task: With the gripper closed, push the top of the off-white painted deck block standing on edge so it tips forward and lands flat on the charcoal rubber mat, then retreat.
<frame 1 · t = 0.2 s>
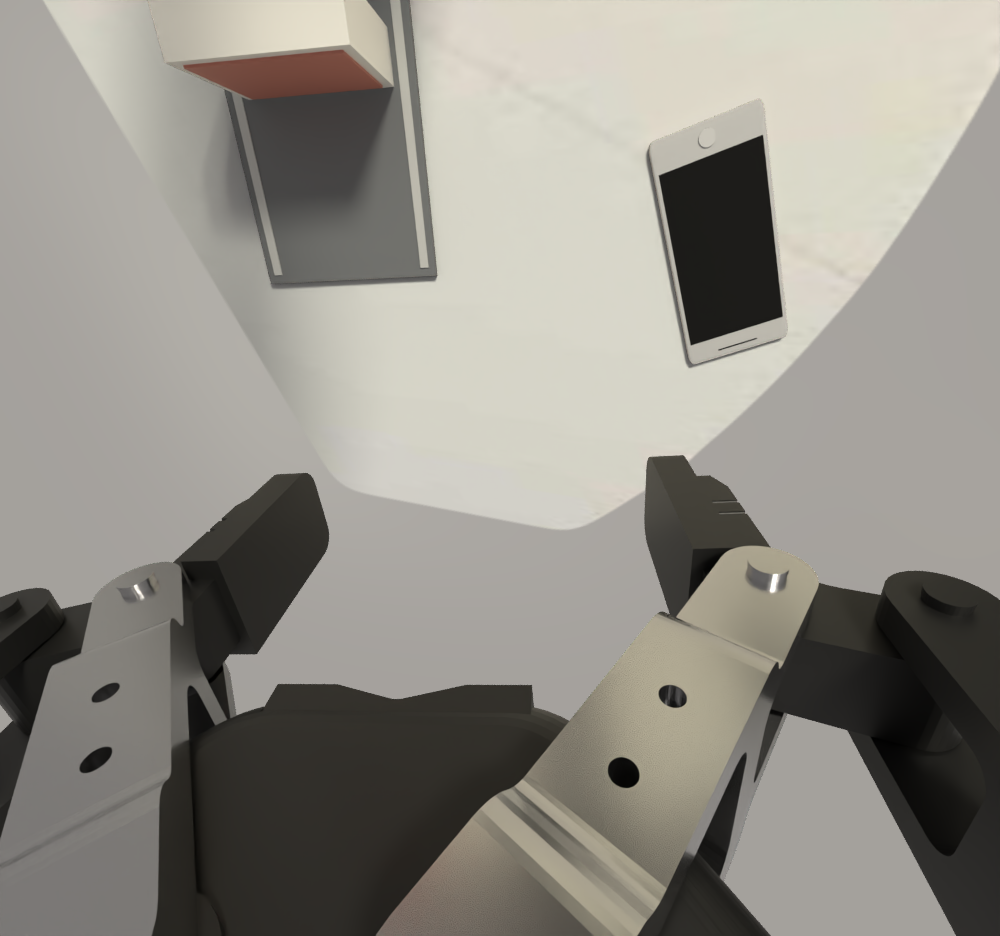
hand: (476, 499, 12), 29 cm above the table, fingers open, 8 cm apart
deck: (285, 43, 28), point 4 cm above the table, touching mat
mat: (327, 122, 33), on the table
smartphone: (718, 245, 35), on the table
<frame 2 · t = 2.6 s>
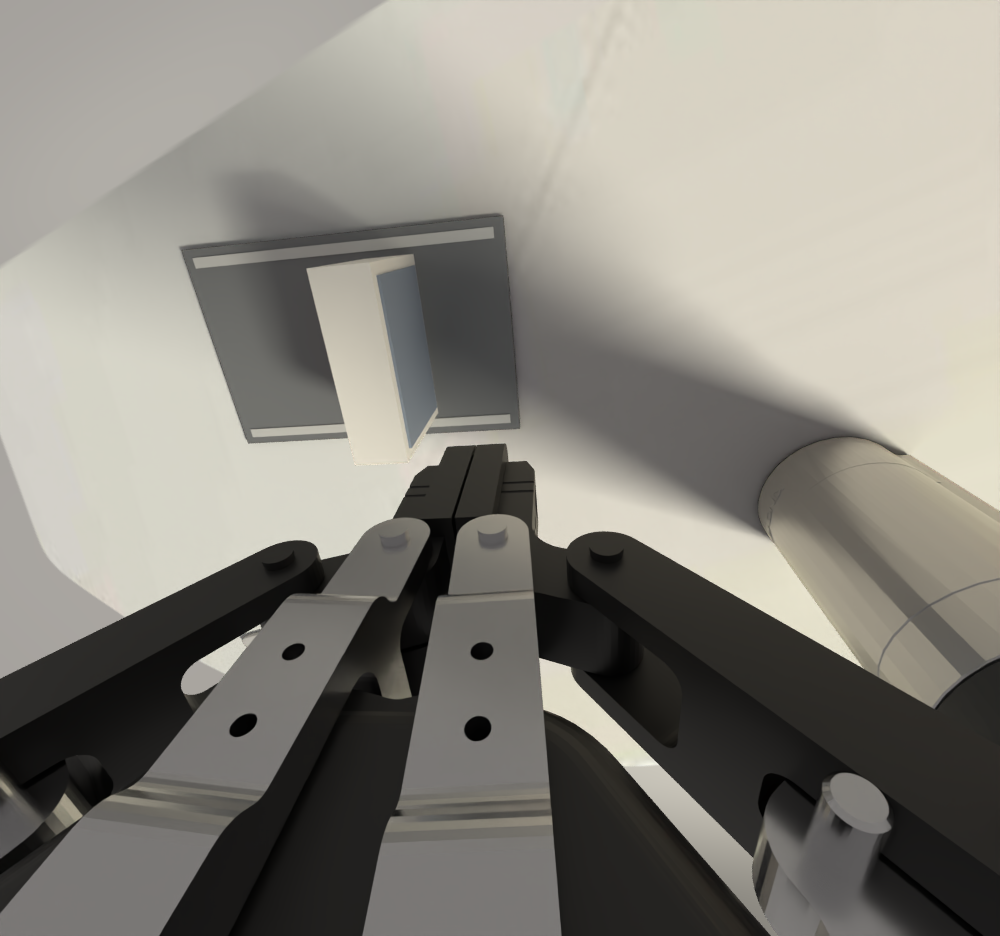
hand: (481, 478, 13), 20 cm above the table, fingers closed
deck: (385, 355, 28), point 4 cm above the table, touching mat
mat: (361, 342, 32), on the table
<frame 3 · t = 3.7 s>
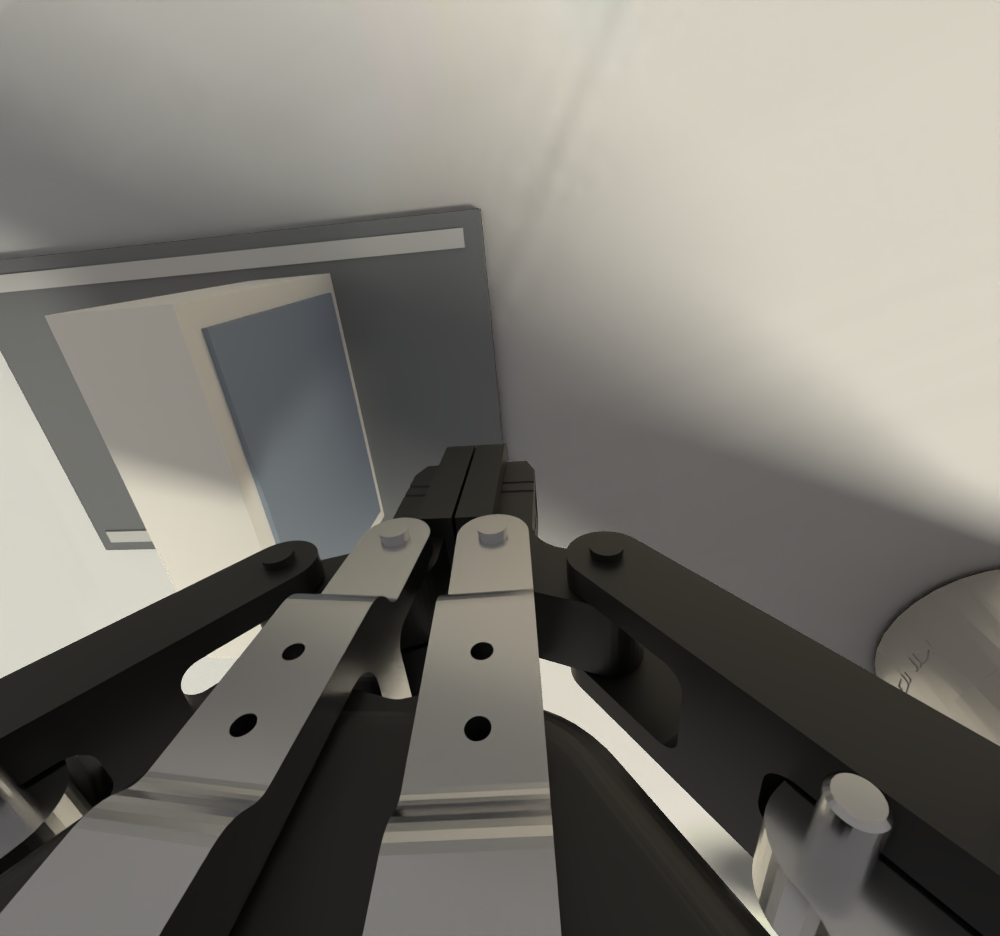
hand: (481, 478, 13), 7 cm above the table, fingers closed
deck: (273, 450, 16), point 4 cm above the table, touching mat
mat: (260, 410, 20), on the table
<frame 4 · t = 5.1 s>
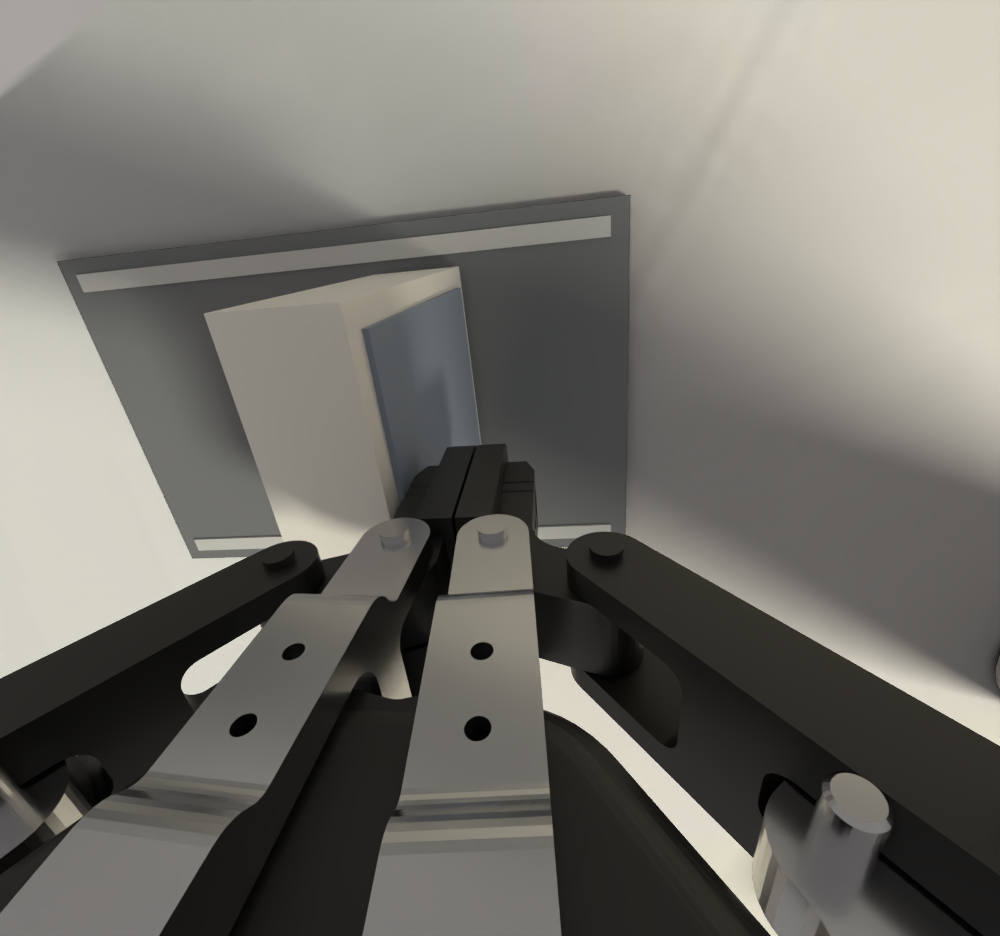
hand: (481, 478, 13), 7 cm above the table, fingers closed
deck: (398, 456, 15), point 5 cm above the table, tilted 7°, touching mat
mat: (368, 411, 19), on the table
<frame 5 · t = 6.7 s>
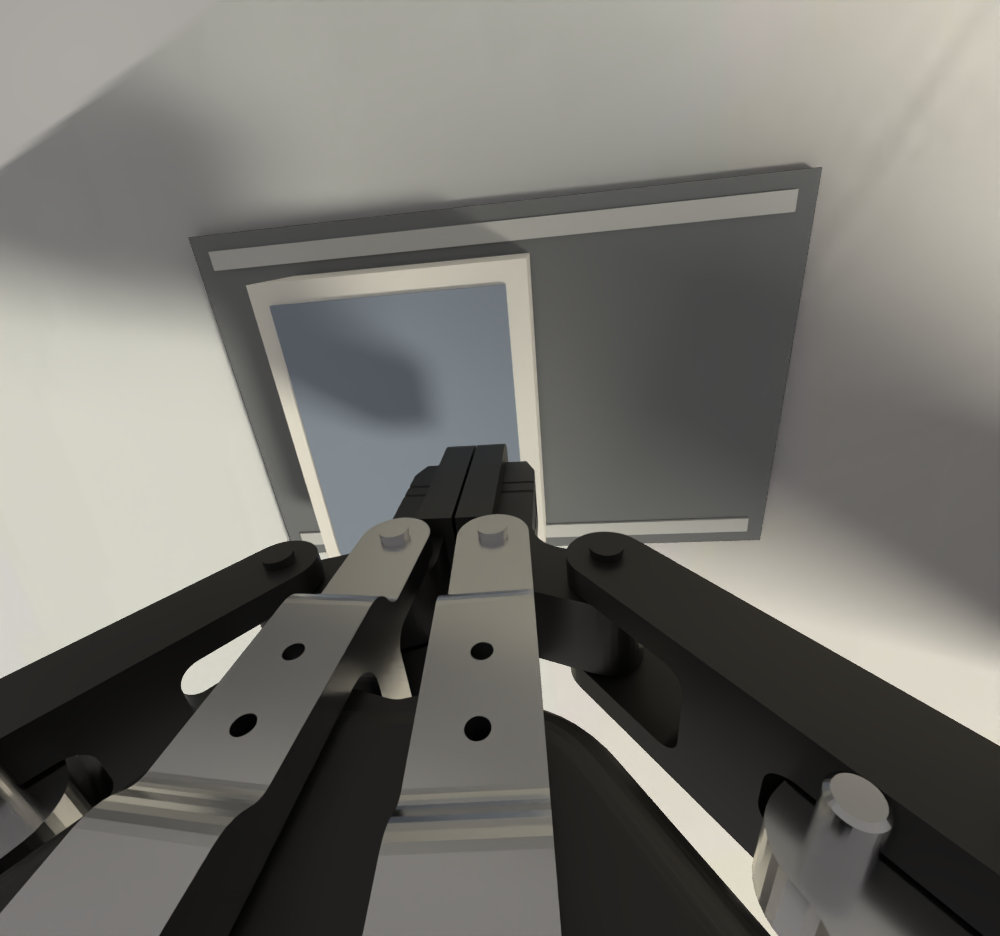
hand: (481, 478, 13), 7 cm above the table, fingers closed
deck: (422, 422, 17), point 2 cm above the table, tilted 90°, touching mat
mat: (501, 399, 18), on the table
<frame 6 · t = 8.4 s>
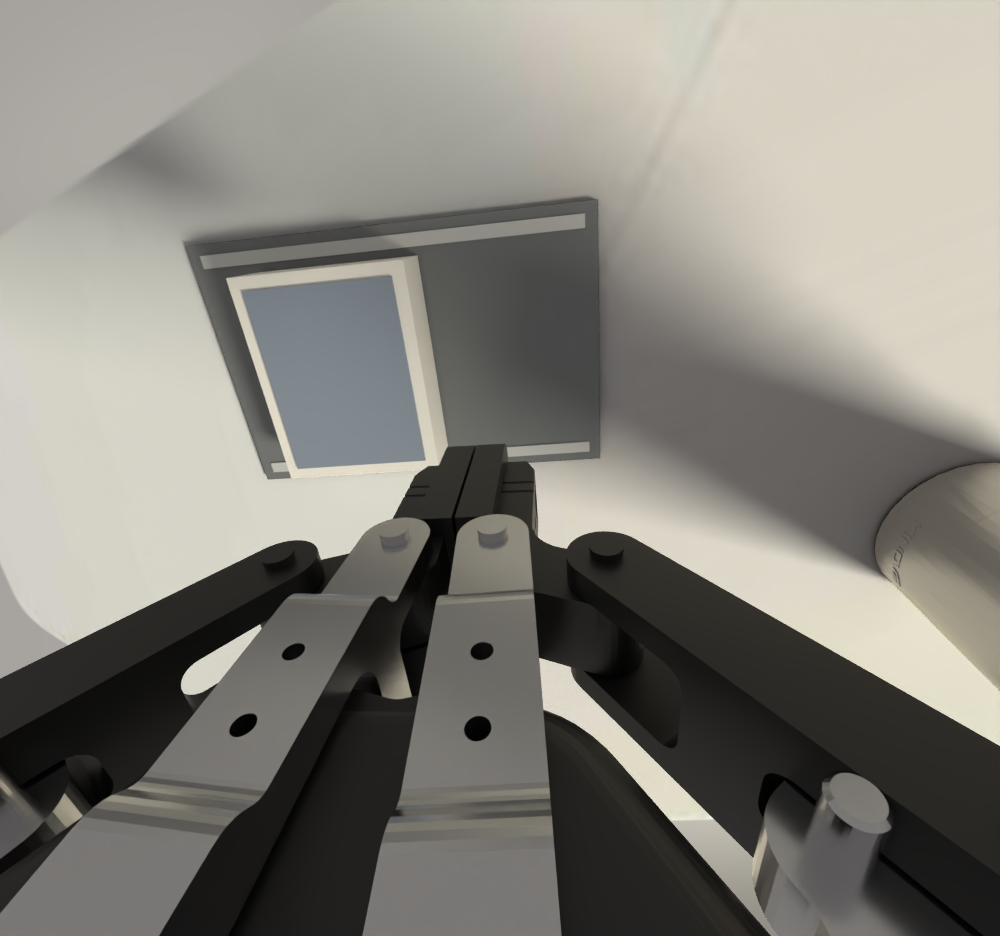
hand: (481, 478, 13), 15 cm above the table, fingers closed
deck: (351, 372, 25), point 2 cm above the table, tilted 90°, touching mat
mat: (410, 358, 26), on the table
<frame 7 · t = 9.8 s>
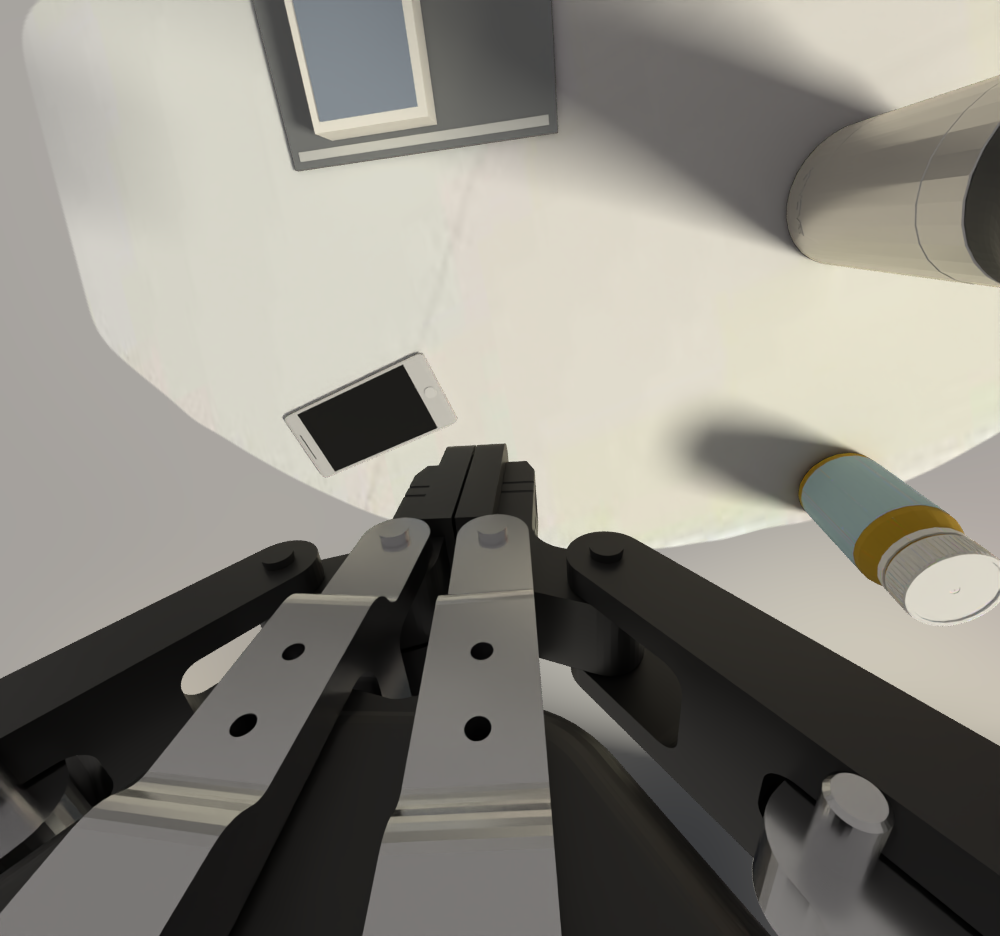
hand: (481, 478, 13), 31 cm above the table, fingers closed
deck: (360, 38, 32), point 2 cm above the table, tilted 90°, touching mat
bottle: (834, 483, 46), on the table
mat: (406, 42, 34), on the table
smartphone: (372, 416, 47), on the table
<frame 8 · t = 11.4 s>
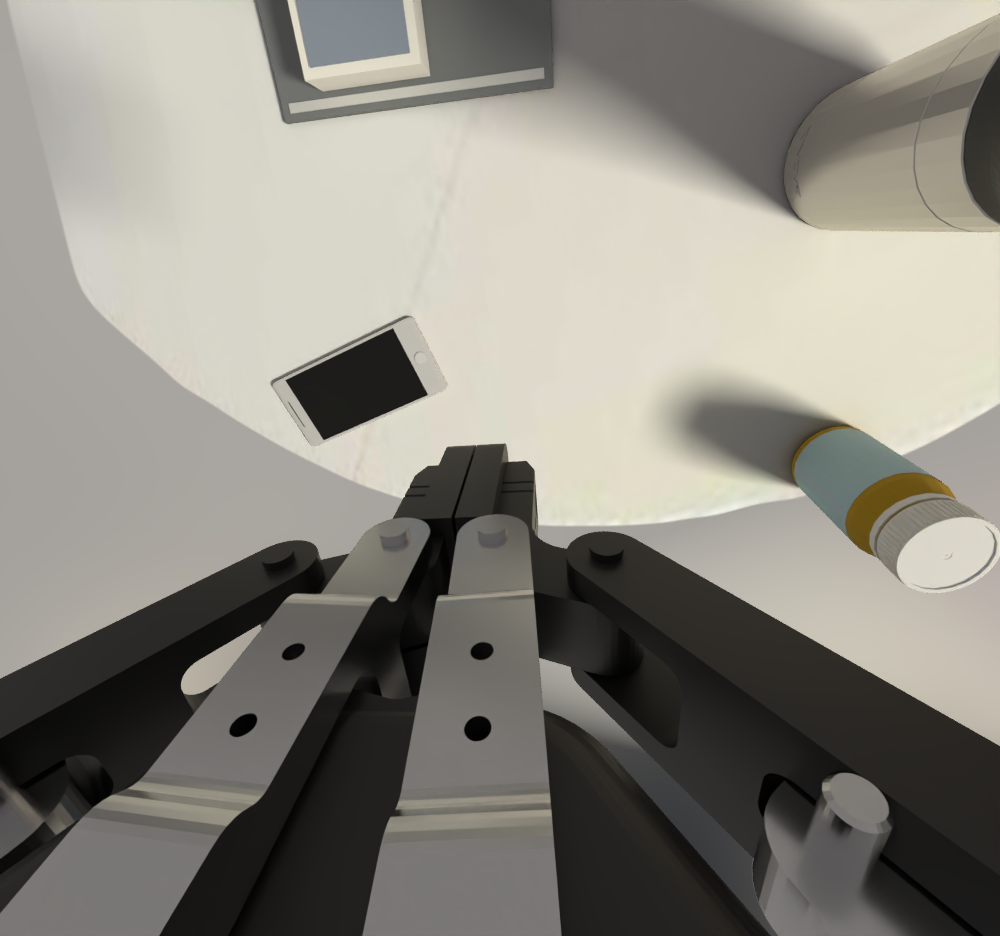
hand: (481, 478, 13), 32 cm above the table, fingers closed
bottle: (827, 457, 45), on the table
smartphone: (362, 383, 46), on the table
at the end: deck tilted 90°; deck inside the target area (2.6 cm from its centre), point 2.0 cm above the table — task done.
